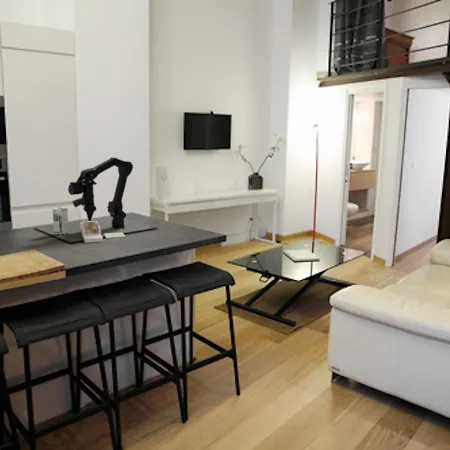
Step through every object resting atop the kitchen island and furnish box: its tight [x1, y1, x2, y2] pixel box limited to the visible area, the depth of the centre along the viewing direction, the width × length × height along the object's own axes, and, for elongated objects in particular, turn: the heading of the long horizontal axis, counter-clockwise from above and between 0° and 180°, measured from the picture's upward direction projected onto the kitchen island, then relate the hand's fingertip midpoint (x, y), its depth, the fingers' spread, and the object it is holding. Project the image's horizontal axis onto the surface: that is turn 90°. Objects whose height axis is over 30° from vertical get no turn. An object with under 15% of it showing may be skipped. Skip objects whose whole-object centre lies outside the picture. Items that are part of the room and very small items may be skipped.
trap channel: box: [80, 220, 104, 244], centre depth 251 cm, size 9×27×6 cm, turn 21°
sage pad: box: [103, 231, 126, 240], centre depth 254 cm, size 10×10×1 cm
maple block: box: [84, 221, 96, 233], centre depth 252 cm, size 5×5×5 cm
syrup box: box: [52, 206, 69, 236], centre depth 254 cm, size 6×6×14 cm
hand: (89, 221), depth 259 cm, fingers closed
